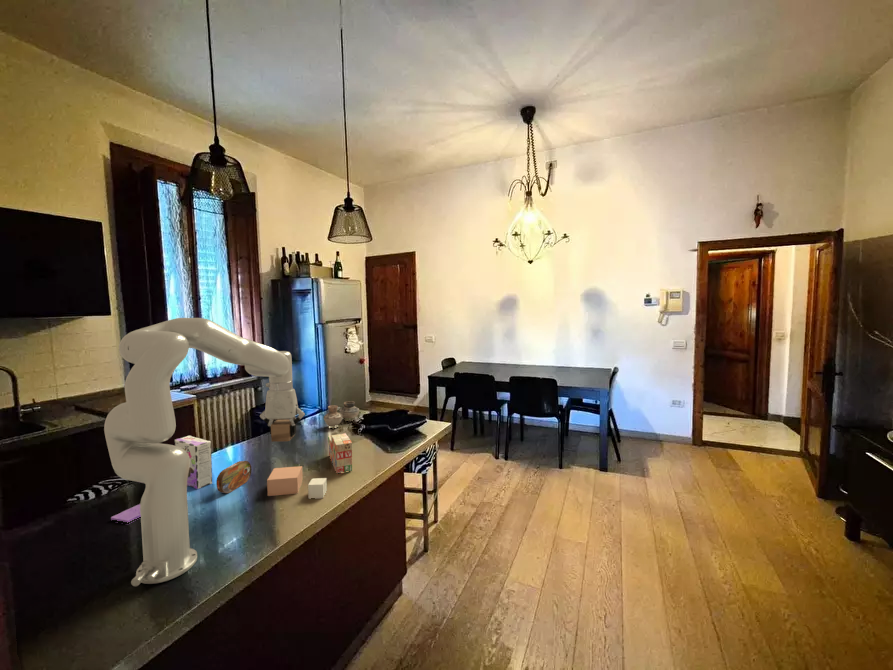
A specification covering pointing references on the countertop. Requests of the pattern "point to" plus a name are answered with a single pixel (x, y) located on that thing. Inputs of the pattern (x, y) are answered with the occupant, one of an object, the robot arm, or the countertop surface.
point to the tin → (233, 477)
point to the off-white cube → (317, 488)
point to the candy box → (197, 460)
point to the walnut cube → (280, 431)
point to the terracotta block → (285, 481)
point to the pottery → (345, 412)
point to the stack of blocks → (340, 452)
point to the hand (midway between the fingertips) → (283, 435)
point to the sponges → (128, 514)
